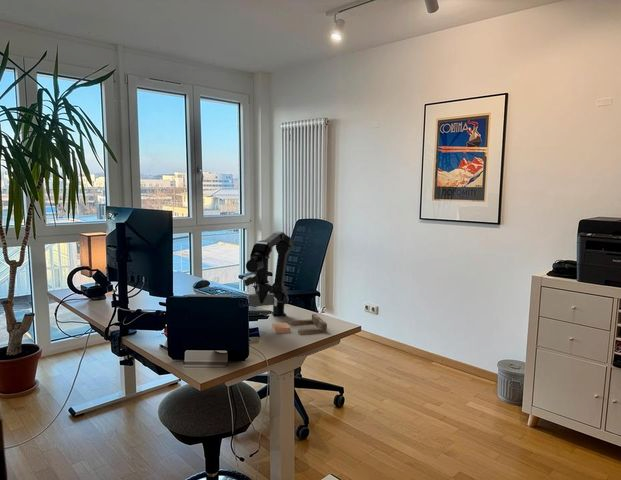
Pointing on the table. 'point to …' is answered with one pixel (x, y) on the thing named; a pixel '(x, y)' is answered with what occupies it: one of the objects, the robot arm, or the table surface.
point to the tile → (280, 327)
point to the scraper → (255, 301)
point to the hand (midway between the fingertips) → (260, 302)
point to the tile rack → (315, 320)
